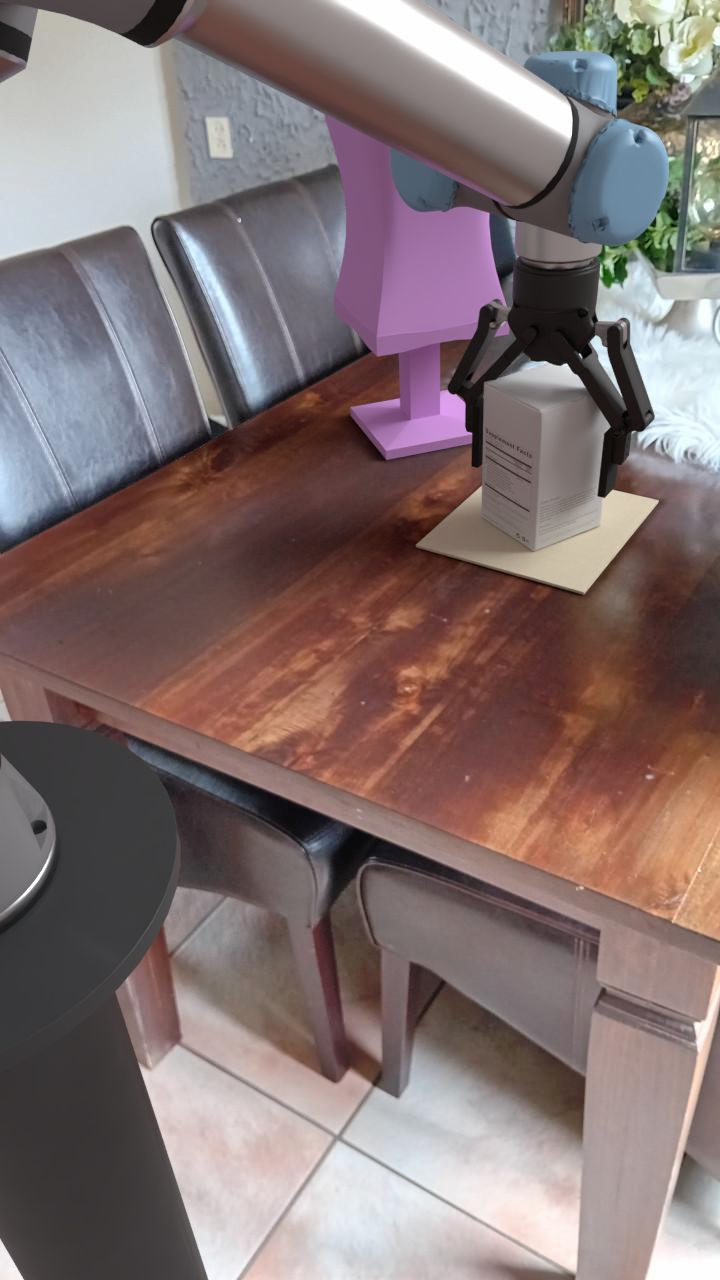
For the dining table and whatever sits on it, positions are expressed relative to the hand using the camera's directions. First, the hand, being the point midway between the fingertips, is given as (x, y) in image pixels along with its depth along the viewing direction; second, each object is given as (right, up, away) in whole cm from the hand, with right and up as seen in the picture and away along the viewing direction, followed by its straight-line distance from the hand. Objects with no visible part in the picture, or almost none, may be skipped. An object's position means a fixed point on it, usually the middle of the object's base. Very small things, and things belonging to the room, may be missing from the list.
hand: (541, 476), depth 100 cm
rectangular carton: (0, -4, +3) cm, 5 cm away
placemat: (0, -4, +3) cm, 6 cm away
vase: (-11, +10, +24) cm, 28 cm away
